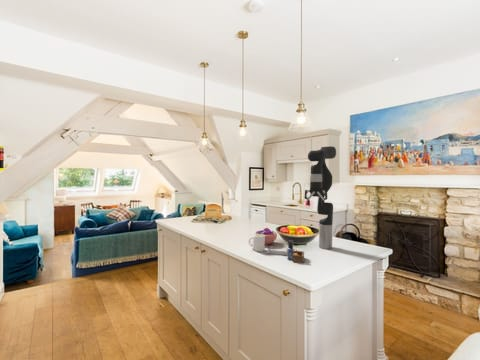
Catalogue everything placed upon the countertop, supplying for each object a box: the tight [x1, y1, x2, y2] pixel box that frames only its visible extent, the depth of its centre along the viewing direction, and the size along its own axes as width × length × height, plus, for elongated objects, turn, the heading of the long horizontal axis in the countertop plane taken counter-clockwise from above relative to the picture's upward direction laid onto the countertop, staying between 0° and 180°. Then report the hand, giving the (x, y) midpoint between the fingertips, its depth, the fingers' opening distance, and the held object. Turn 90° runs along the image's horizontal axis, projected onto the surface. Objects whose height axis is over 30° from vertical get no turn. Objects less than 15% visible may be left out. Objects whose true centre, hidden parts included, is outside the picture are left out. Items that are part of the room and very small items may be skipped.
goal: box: [292, 250, 305, 264], centre depth 160 cm, size 10×6×4 cm, turn 165°
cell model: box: [255, 227, 278, 245], centre depth 199 cm, size 17×20×11 cm
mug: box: [248, 233, 266, 252], centre depth 181 cm, size 12×8×10 cm
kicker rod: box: [286, 239, 296, 260], centre depth 166 cm, size 12×5×9 cm, turn 165°
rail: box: [267, 247, 298, 257], centre depth 171 cm, size 3×19×3 cm, turn 75°
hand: (315, 205), depth 167 cm, fingers open, 8 cm apart
